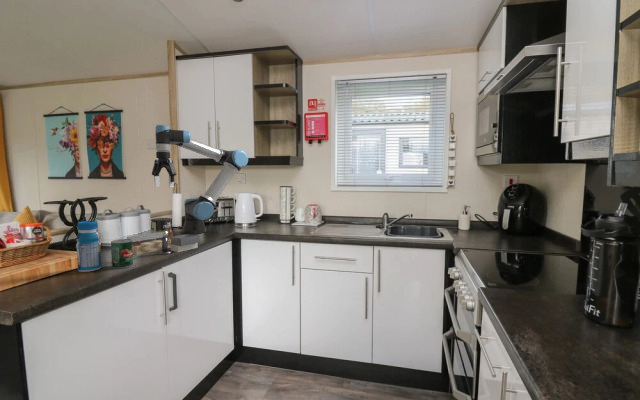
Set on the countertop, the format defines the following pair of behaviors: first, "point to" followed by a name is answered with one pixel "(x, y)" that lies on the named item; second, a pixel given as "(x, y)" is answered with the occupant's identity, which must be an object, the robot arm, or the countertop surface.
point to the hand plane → (150, 245)
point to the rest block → (183, 247)
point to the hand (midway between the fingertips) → (164, 187)
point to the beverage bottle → (88, 246)
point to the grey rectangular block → (183, 240)
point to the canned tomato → (122, 253)
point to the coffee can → (160, 226)
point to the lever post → (164, 247)
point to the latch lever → (148, 236)
